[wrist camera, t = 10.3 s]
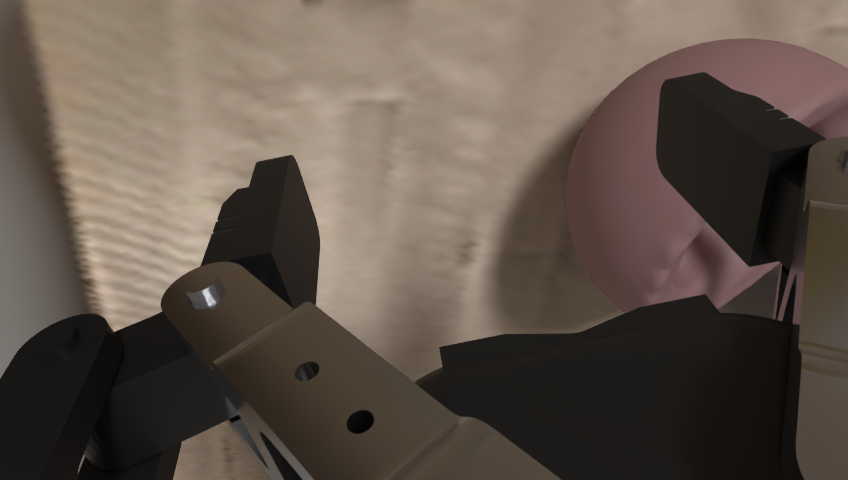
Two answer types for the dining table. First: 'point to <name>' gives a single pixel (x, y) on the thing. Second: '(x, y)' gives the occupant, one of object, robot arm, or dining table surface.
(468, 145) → the dining table surface
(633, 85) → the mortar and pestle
